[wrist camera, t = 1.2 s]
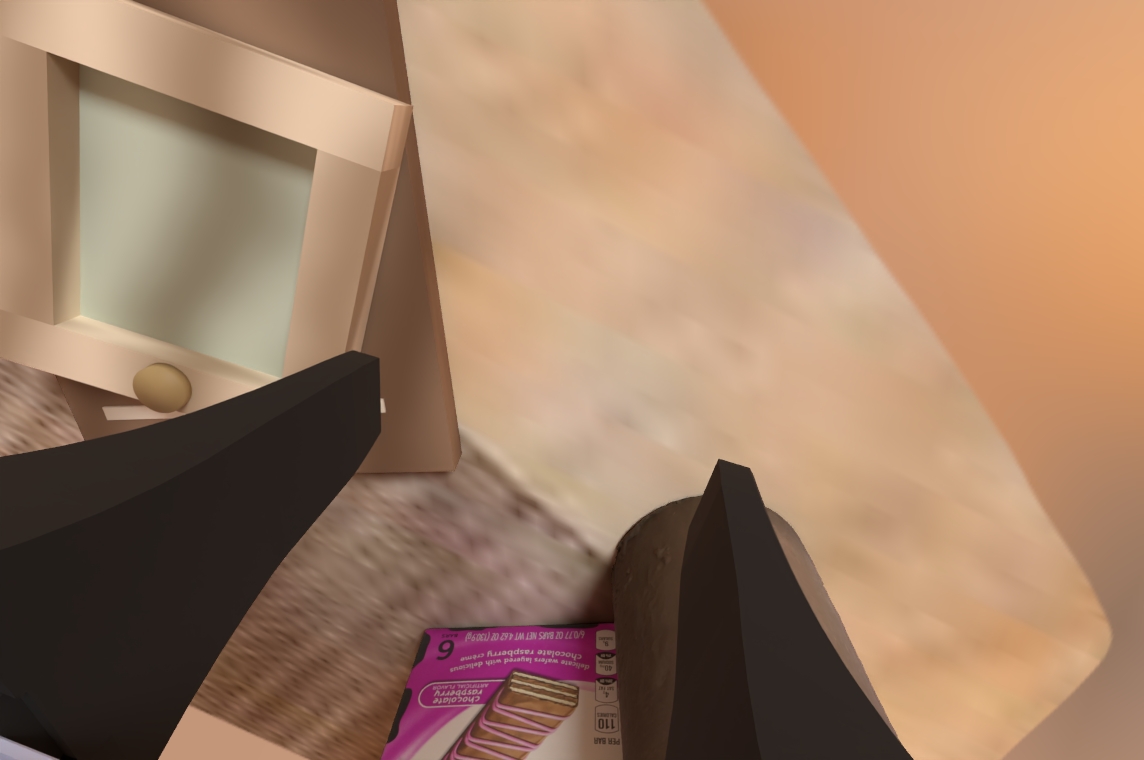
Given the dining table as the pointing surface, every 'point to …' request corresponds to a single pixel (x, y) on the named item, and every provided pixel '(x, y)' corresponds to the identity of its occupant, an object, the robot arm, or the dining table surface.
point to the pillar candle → (652, 622)
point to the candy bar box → (511, 695)
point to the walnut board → (406, 271)
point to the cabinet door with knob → (182, 203)
